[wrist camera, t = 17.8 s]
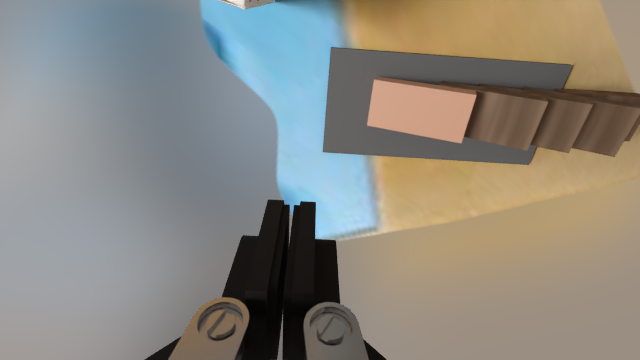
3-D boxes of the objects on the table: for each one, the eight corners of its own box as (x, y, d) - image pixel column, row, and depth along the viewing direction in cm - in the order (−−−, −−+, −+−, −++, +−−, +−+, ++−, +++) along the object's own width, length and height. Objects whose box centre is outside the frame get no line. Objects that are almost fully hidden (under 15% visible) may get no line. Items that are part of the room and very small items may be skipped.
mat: (331, 47, 33) (331, 47, 33) (570, 64, 34) (572, 65, 34) (322, 150, 39) (322, 152, 39) (526, 163, 40) (528, 164, 40)
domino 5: (547, 137, 36) (628, 141, 37) (567, 93, 33) (654, 98, 34) (536, 130, 38) (614, 134, 38) (554, 88, 35) (637, 93, 36)
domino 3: (464, 131, 36) (568, 153, 32) (479, 86, 33) (593, 104, 30) (466, 126, 37) (565, 146, 34) (480, 83, 35) (588, 100, 31)
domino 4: (506, 134, 36) (614, 156, 32) (524, 89, 33) (642, 109, 30) (506, 129, 37) (609, 150, 34) (522, 86, 35) (635, 104, 31)
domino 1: (377, 76, 35) (475, 90, 32) (370, 120, 37) (460, 137, 34) (373, 79, 33) (476, 95, 30) (366, 125, 35) (461, 143, 33)
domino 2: (427, 128, 36) (527, 150, 32) (438, 83, 33) (548, 101, 30) (430, 124, 37) (526, 144, 34) (441, 80, 35) (546, 97, 31)
